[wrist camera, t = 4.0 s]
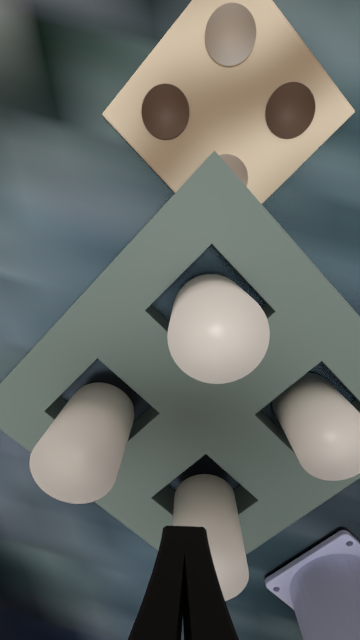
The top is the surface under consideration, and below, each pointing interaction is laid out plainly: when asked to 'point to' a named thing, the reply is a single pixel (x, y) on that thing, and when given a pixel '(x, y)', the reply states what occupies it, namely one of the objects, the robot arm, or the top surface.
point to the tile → (229, 97)
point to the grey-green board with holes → (179, 388)
